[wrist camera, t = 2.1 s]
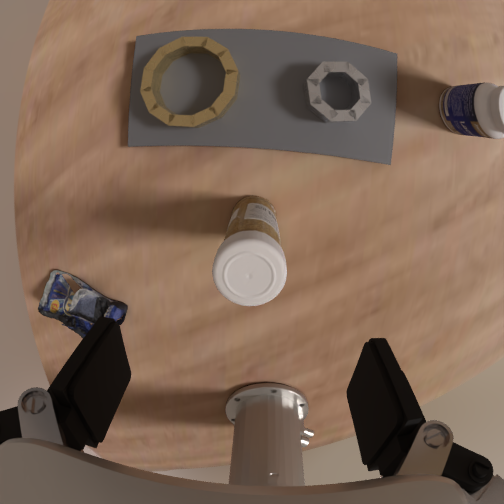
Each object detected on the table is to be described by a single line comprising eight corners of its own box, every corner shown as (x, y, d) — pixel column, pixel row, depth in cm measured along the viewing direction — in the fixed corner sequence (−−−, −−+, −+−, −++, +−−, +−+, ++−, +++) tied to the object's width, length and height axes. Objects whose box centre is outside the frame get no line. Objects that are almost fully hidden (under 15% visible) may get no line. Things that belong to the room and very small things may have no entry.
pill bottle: (438, 131, 25) (495, 136, 16) (435, 82, 23) (491, 72, 14) (473, 138, 25) (530, 146, 16) (471, 92, 23) (527, 89, 14)
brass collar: (258, 74, 23) (257, 67, 21) (201, 144, 26) (196, 144, 24) (187, 30, 22) (180, 22, 19) (135, 98, 24) (124, 96, 22)
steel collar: (371, 94, 23) (381, 91, 21) (338, 134, 25) (345, 134, 23) (327, 56, 22) (333, 49, 20) (292, 96, 24) (295, 92, 22)
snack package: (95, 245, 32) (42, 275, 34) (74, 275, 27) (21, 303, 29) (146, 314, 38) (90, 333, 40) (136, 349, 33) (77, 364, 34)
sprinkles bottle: (223, 211, 30) (195, 267, 17) (260, 186, 29) (258, 224, 16) (249, 246, 31) (241, 320, 19) (286, 222, 30) (302, 284, 18)
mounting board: (391, 56, 23) (397, 53, 21) (384, 163, 27) (390, 165, 26) (142, 40, 23) (136, 36, 22) (133, 145, 28) (127, 146, 26)
